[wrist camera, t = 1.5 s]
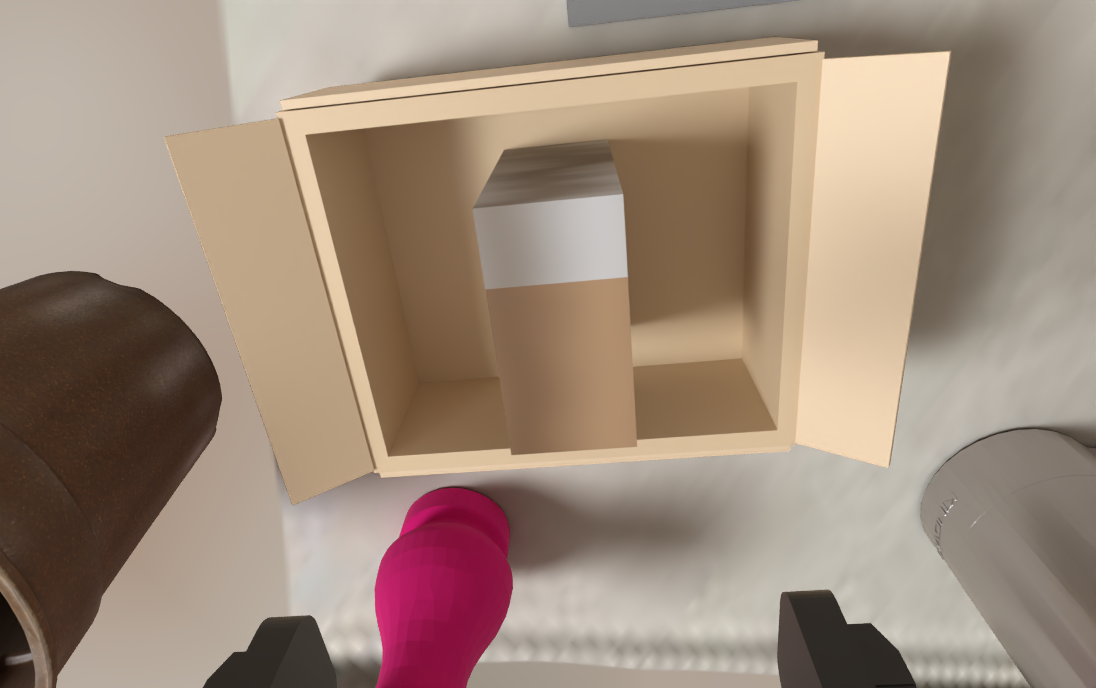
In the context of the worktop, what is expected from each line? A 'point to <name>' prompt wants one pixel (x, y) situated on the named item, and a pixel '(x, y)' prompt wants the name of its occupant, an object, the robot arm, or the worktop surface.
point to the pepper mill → (442, 590)
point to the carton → (651, 245)
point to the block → (559, 297)
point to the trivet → (645, 9)
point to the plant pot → (86, 451)
